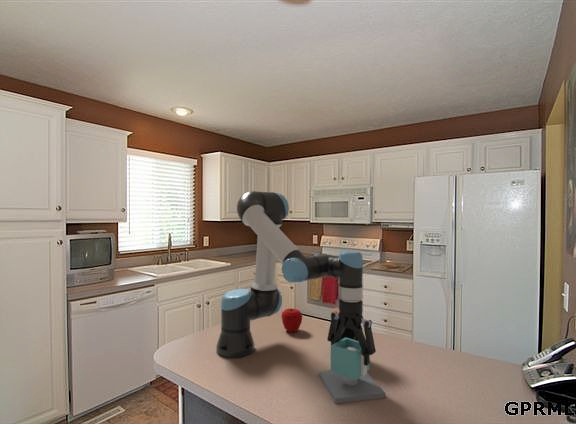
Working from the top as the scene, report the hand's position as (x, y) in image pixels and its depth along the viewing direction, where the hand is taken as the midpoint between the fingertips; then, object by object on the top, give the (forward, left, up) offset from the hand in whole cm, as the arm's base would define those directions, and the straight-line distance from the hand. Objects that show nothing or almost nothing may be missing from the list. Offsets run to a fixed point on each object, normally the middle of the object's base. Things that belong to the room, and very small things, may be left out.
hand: (350, 369), depth 100 cm
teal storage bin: (0, 0, 0) cm, 0 cm away
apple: (-50, -8, -6) cm, 51 cm away
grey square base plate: (0, 0, -5) cm, 5 cm away
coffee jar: (-19, +6, -6) cm, 21 cm away
